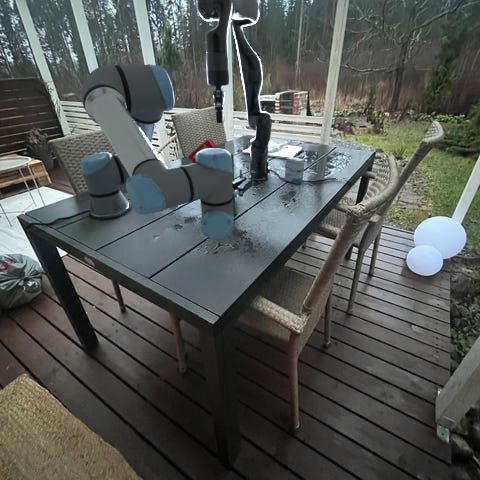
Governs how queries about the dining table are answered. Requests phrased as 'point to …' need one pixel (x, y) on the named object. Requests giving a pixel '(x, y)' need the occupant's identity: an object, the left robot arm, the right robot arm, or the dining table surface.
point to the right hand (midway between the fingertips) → (220, 120)
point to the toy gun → (205, 145)
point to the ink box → (294, 170)
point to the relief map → (280, 150)
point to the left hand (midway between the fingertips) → (220, 174)
